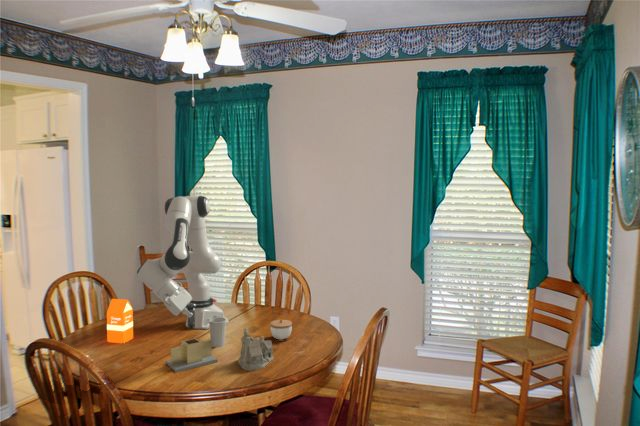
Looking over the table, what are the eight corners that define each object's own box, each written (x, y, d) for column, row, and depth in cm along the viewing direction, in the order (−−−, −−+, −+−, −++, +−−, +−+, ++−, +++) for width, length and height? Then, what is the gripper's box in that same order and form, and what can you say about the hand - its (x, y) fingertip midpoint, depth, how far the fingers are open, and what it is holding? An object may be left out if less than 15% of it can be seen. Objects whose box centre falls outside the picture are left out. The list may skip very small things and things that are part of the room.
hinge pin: (194, 325, 195) (193, 302, 195) (197, 327, 192) (197, 304, 192) (184, 326, 193) (184, 303, 192) (188, 329, 190) (188, 305, 189)
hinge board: (206, 353, 204) (206, 351, 204) (217, 361, 195) (217, 359, 195) (166, 363, 193) (166, 360, 193) (175, 372, 184) (175, 369, 184)
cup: (211, 348, 210) (211, 323, 209) (207, 343, 217) (207, 318, 216) (228, 346, 213) (228, 321, 213) (223, 340, 220) (223, 316, 220)
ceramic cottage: (241, 371, 185) (243, 335, 185) (236, 358, 201) (238, 324, 201) (278, 369, 190) (281, 333, 190) (270, 356, 206) (272, 323, 206)
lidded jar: (265, 339, 223) (265, 320, 222) (277, 333, 232) (278, 315, 232) (284, 343, 218) (284, 324, 217) (296, 336, 227) (296, 318, 227)
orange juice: (123, 343, 215) (122, 302, 213) (107, 342, 217) (106, 300, 215) (133, 338, 223) (132, 297, 221) (117, 336, 224) (116, 296, 223)
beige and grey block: (208, 352, 202) (208, 335, 201) (214, 357, 197) (214, 339, 196) (168, 362, 191) (168, 343, 190) (174, 367, 186) (173, 348, 185)
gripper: (167, 292, 181) (192, 317, 182) (180, 281, 201) (203, 303, 202) (156, 303, 181) (181, 328, 182) (170, 291, 201) (192, 313, 202)
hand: (192, 314), depth 192 cm, fingers closed on hinge pin, 3 cm apart
